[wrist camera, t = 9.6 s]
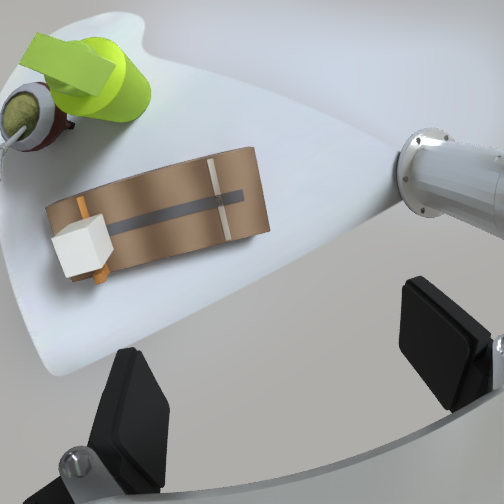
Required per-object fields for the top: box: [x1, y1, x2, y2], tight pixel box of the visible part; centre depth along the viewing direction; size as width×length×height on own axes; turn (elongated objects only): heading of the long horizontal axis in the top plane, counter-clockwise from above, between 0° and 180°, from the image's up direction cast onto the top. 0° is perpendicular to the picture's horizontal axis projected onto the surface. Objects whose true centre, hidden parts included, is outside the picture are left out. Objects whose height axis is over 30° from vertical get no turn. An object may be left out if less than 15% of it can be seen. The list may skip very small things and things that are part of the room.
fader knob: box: [51, 213, 114, 278], centre depth 28 cm, size 4×4×5 cm
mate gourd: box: [0, 82, 75, 181], centre depth 21 cm, size 8×8×15 cm
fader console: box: [46, 147, 270, 284], centre depth 31 cm, size 23×9×6 cm, turn 102°
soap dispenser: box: [20, 32, 151, 123], centre depth 20 cm, size 6×7×20 cm
